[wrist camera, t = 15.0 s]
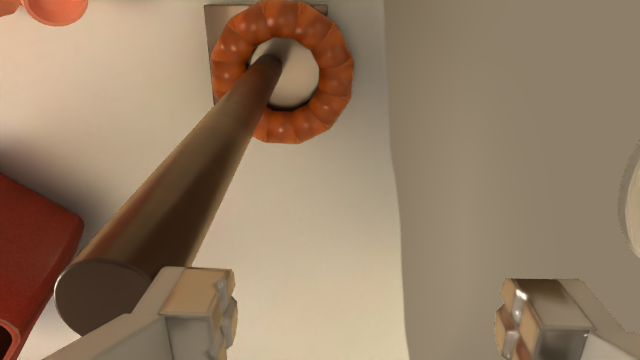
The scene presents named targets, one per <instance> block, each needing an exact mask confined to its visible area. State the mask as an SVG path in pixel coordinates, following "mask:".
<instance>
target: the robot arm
mask: <svg viewBox="0 0 640 360" xmlns="http://www.w3.org/2000/svg"><path fill="white" fill-rule="evenodd" d="M234 287H235V279H234V272H233V271H232V269H217V268H198V267H188V268H187V267H175V266H166V267H164V268H162V269H161V270H160V271H159V273H158V274H157V276H156V277H155V279H154V280H153V282H152V283H151V285H150V286H149V288H148V289H147V291H146V292H145V294H144V295H143V297H142V298H141V299H140V301H139V302H138V304H137V305H136V307H135V308H134V310H133V311H132V313H131V314H122V315H121V316H119V317H117V318H115V319H113V320H112V321H110V322H108V323H106V324H104V325H103V326H101V327H99V328H97V329H96V330H94V331H92V332H90V333H88V334H87V335H85V336H83V337H81V338H80V339H78V340H76V341H74V342H72V343H71V344H69V345H67V346H65V347H63V348H62V349H60V350H58V351H56V352H55V353H53V354H51V355H49V356H47V357H46V358H44V359H42V360H227V355H226V349H228V348H229V347H230V346H231V345H232V344H233V341H234V337H235V334H236V327H237V314H238V310H237V301H236V300H235V299H234V298H233V297H232V293H233V290H234ZM500 295H501V297H502V299H503V301H504V304H503V305H502V306H501V307H500V308H499V309H498V310H497V311H496V317H495V322H494V325H495V338H496V342H497V346H498V348H499V351H500V353H501V356H503V357H504V358H505V359H507V360H640V335H638V334H637V333H634V332H626V331H625V330H624V329H623V328H622V326H621V325H620V324H619V323H618V322H617V321H616V319H615V318H614V317H613V316H612V315H611V313H610V312H609V311H608V310H607V309H606V307H605V306H604V305H603V304H602V303H601V302H600V301H599V300H598V298H597V297H596V296H595V295H594V293H593V292H592V291H591V290H590V289H589V288H588V286H587V285H586V284H585V283H584V282H583V281H581V280H579V279H552V280H551V279H507V278H506V279H505V280H504V282H503V284H502V287H501V291H500Z"/></svg>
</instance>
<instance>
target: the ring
mask: <svg viewBox="0 0 640 360" xmlns="http://www.w3.org/2000/svg"><path fill="white" fill-rule="evenodd" d="M272 38H287V39H294V40H296V41H297V42H299V43H300V44H302V45H303V46H305V47H306V48H308V49H309V50H310V51H311V53H312V55H313V57H314V59H315V61H316V63H317V65H318V67H319V84H318V89H317V90H316V92H315V93H314V95H313V97H312V98H311V100H310V101H309V103H308V104H306V105H304V106H302V107H300V108H298V109H296V110H294V111H273V110H271V109H270V108H268V107H266V108H265V110H264V112H263V115H262V117H261V119H260V121H259V123H258V125H257V127H256V129H255V132H254V134H253V137H255V138H257V139H258V140H260V141H262V142H265V143H282V144H300V143H303V142H305V141H307V140H309V139H311V138H313V137H315V136H317V135H319V134H321V133H323V132H325V131H327V130H329V129H330V128H331V127H332V126H333V124H334V123H335V121H336V120H337V119H338V117H339V116H340V114H341V113H342V111H343V110H344V108H345V107H346V105H347V104H348V102H349V101H350V98H351V93H352V80H353V68H354V61H353V57H352V55H351V53H350V51H349V49H348V47H347V44H346V42H345V40H344V38H343V36H342V34H341V32H340V29H339V28H338V26H337V25H336V24H335V23H334V22H333V21H331V20H330V19H329V18H327V17H326V16H324V15H323V14H321V13H320V12H318V11H317V10H316V9H314V8H313V7H311V6H310V5H308V4H307V3H305V2H302V1H288V0H262V1H259V2H258V3H256V4H254V5H252V6H251V7H249V8H247V9H245V10H244V11H242V12H240V13H238V14H237V15H235V16H233V17H232V18H231V19H230V20H229V21H228V22H227V24H226V26H225V27H224V29H223V31H222V33H221V35H220V37H219V39H218V41H217V43H216V45H215V47H214V48H213V51H212V54H211V67H212V86H213V92H214V95H215V97H216V98H217V100H218V101H219V100H220V99H221V98H222V97H223V96H224V95H225V93H226V92H227V91H228V90H229V89H230V88H231V87H232V86H233V85H234V84H235V83H236V81H237V80H238V79H239V78H240V77H241V76H242V75H243V74H244V73H245V72H246V64H247V62H248V60H249V58H250V56H251V55H252V53H253V51H254V49H255V48H256V47H257V46H259V45H261V44H262V43H264V42H266V41H268V40H270V39H272Z"/></svg>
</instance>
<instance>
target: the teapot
mask: <svg viewBox="0 0 640 360" xmlns="http://www.w3.org/2000/svg"><path fill="white" fill-rule="evenodd" d="M20 3H22V4H23V6H24V7H25V9H26V10H27V12H28V13H29V14H30V15H31V16H32V17H33V18H34V19H35V20H37V21H38V22H40V23H43V24H45V25H49V26H65V25H69V24H72V23H74V22H75V21H77V20H78V19H80V18H81V17H82V16H83V14H84V13H85V11H86V9H87V5H88V0H0V17H2V16H6V15H10V14H13V13H14V12H15V11H16V10H17V8H18V7H19V5H20Z"/></svg>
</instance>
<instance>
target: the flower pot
mask: <svg viewBox="0 0 640 360" xmlns="http://www.w3.org/2000/svg"><path fill="white" fill-rule="evenodd" d="M84 226H85V225H84V221H83V220H82V219H81V218H80V217H79V216H77V215H76V214H74V213H72V212H70V211H68V210H67V209H65V208H63V207H61V206H59V205H58V204H56V203H54V202H52V201H50V200H49V199H47V198H45V197H43V196H41V195H39V194H38V193H36V192H34V191H32V190H30V189H29V188H27V187H25V186H23V185H21V184H19V183H18V182H16V181H14V180H12V179H10V178H9V177H7V176H5V175H3V174H1V173H0V360H17V358H18V356H19V354H20V352H21V350H22V348H23V346H24V344H25V342H26V340H27V338H28V336H29V334H30V332H31V330H32V328H33V326H34V325H35V323H36V321H37V320H38V318H39V316H40V315H41V313H42V311H43V310H44V308H45V306H46V305H47V303H48V301H49V300H50V298H51V296H52V295H53V293H54V287H55V283H56V280H57V278H58V276H59V275H60V274H61V272H62V271H63V270H64V269H65V268H66V267H67V266H68V265H69V263H70V262H71V261H72V259H73V257H74V255H75V252H76V250H77V248H78V245H79V242H80V240H81V237H82V234H83V230H84Z"/></svg>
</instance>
